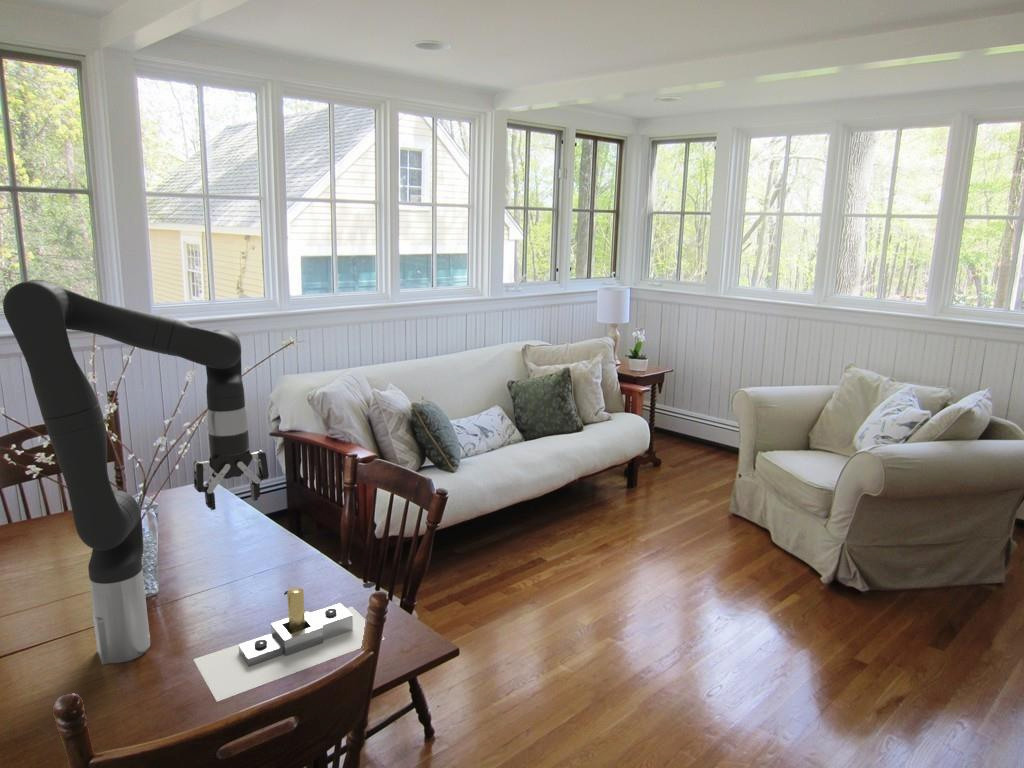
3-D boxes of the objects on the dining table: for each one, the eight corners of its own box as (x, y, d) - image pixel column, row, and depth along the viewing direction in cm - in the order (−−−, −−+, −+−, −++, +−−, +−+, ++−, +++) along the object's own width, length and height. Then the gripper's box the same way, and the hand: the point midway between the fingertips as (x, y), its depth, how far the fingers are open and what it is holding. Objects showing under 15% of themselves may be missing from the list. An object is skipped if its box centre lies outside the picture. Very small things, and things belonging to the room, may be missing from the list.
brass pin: (293, 646, 148) (290, 596, 146) (287, 639, 151) (285, 590, 149) (308, 641, 150) (305, 592, 148) (302, 634, 153) (300, 586, 151)
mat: (217, 704, 131) (216, 701, 131) (193, 661, 144) (193, 659, 144) (385, 641, 152) (385, 638, 152) (351, 608, 164) (351, 606, 164)
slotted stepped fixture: (250, 669, 141) (248, 649, 140) (237, 650, 147) (236, 632, 146) (354, 631, 154) (353, 613, 153) (339, 616, 160) (338, 599, 159)
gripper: (196, 439, 139) (203, 518, 143) (269, 427, 148) (274, 502, 151) (185, 430, 145) (192, 506, 149) (257, 419, 154) (262, 491, 157)
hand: (233, 504), depth 150 cm, fingers open, 8 cm apart
